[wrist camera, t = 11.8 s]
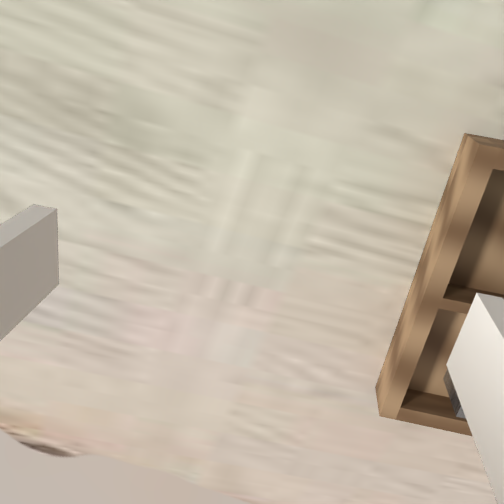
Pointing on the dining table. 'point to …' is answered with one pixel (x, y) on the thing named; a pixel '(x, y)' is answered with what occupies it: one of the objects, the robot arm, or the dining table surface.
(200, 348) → the dining table surface
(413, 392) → the wooden divided tray
